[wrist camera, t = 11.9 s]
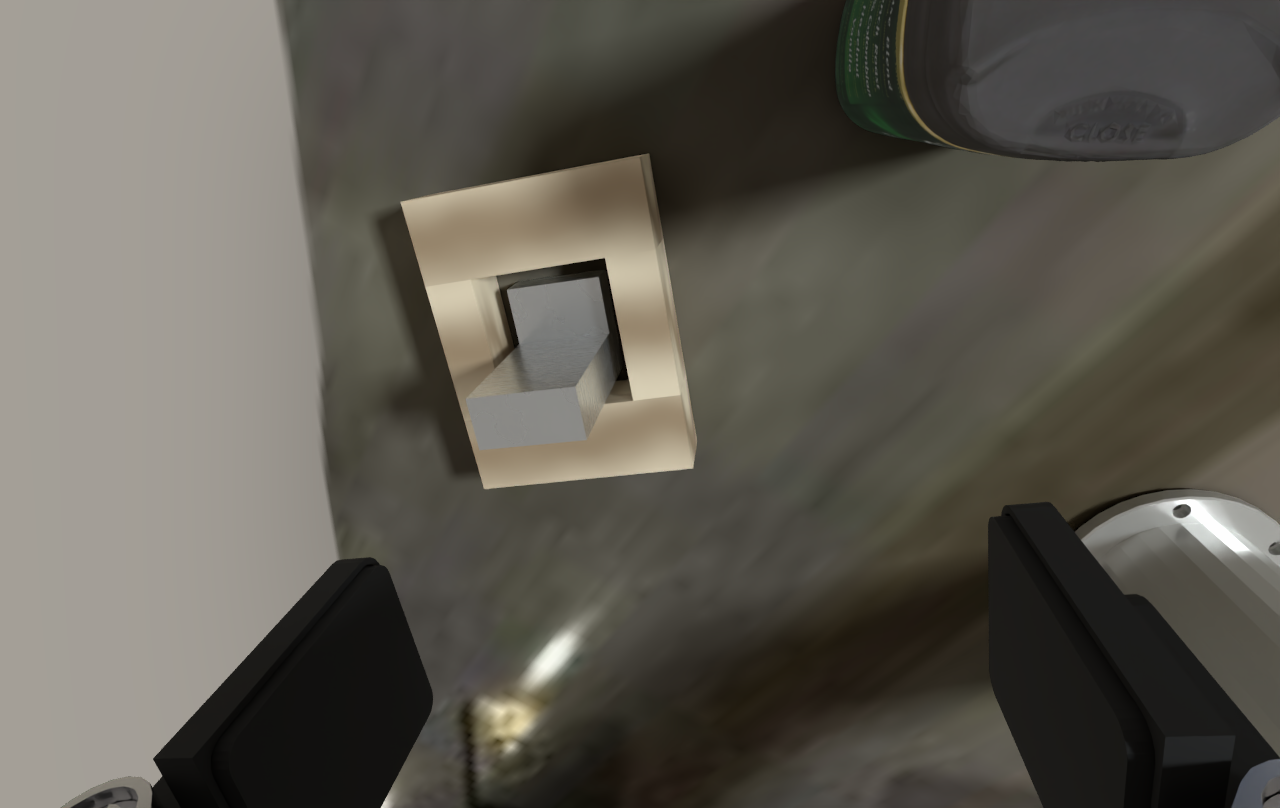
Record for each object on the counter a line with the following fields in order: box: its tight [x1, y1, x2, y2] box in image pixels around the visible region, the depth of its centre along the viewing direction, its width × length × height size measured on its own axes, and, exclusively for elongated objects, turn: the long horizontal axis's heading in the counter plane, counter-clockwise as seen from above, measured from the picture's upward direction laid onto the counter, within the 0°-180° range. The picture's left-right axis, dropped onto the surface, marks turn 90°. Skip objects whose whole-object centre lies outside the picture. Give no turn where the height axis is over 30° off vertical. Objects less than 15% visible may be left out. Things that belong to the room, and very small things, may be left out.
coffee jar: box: [835, 0, 1280, 162], centre depth 23 cm, size 10×8×19 cm
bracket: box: [466, 269, 623, 450], centre depth 35 cm, size 6×5×10 cm
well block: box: [401, 153, 697, 489], centre depth 38 cm, size 16×12×4 cm
